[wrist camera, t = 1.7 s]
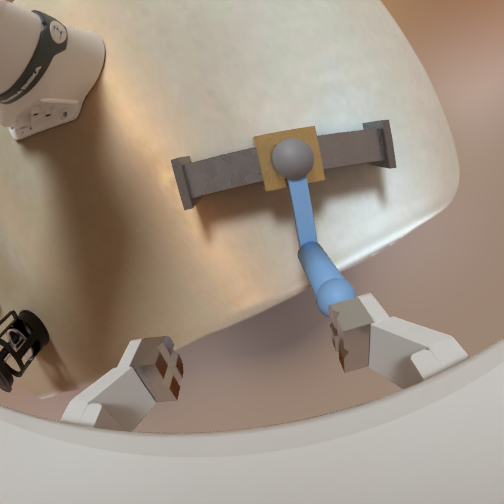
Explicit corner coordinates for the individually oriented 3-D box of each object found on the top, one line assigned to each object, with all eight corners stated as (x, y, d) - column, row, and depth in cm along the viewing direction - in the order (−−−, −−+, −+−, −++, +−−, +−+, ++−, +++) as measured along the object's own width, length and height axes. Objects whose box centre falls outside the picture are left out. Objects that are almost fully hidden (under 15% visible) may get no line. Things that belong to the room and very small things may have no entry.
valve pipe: (194, 201, 36) (184, 211, 31) (182, 156, 34) (170, 158, 29) (375, 165, 35) (396, 169, 29) (368, 121, 33) (388, 118, 27)
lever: (267, 142, 29) (284, 138, 16) (306, 135, 28) (349, 128, 16) (292, 265, 34) (317, 332, 21) (326, 257, 34) (367, 318, 21)
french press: (57, 345, 46) (7, 419, 25) (35, 348, 47) (-11, 412, 25) (30, 299, 42) (-35, 367, 20) (10, 306, 43) (-47, 365, 21)
